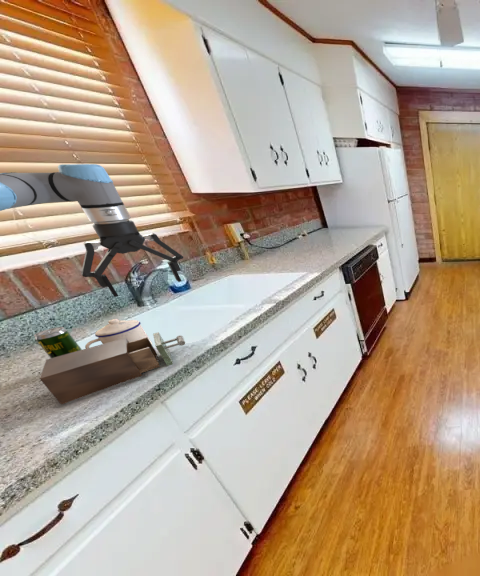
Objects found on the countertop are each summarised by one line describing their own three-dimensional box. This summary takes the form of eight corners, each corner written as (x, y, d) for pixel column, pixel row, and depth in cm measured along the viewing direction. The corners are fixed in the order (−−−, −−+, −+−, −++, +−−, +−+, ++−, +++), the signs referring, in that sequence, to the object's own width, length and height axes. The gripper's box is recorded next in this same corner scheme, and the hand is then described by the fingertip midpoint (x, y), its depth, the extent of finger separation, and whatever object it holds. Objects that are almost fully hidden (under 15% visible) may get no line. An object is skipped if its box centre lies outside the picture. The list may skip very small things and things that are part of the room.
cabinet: (141, 362, 91) (126, 337, 87) (143, 378, 84) (127, 352, 81) (67, 386, 81) (46, 359, 78) (62, 406, 75) (39, 378, 71)
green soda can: (67, 363, 90) (41, 330, 86) (94, 357, 93) (69, 324, 88) (55, 372, 86) (26, 338, 81) (83, 366, 89) (57, 332, 84)
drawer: (188, 345, 98) (178, 326, 95) (192, 357, 92) (182, 338, 89) (107, 370, 86) (93, 350, 83) (106, 387, 80) (91, 365, 77)
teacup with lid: (150, 340, 102) (132, 310, 97) (157, 347, 97) (137, 317, 92) (94, 358, 93) (71, 327, 88) (98, 368, 88) (73, 335, 83)
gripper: (36, 231, 74) (86, 305, 82) (176, 216, 93) (205, 277, 102) (34, 227, 77) (82, 299, 86) (170, 213, 96) (198, 273, 105)
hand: (149, 287), depth 94 cm, fingers open, 13 cm apart
